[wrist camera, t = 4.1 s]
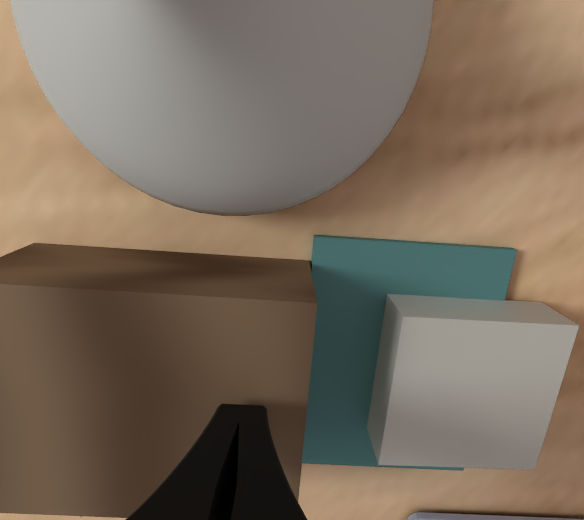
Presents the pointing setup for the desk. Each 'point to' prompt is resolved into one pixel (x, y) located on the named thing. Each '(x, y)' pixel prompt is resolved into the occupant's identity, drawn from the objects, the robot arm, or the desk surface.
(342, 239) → the mat
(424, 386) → the tile
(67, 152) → the desk surface
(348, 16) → the flower in vase
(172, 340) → the block
